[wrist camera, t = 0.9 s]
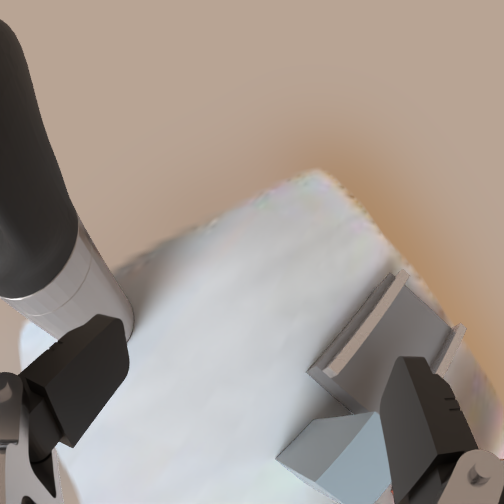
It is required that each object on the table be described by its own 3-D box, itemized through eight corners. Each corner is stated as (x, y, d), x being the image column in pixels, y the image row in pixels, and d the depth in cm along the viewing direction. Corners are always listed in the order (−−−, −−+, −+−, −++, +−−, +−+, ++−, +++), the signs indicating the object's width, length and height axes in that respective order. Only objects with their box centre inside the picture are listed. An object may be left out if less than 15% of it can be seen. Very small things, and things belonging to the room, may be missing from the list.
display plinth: (306, 372, 33) (322, 361, 28) (376, 286, 39) (397, 264, 34) (385, 439, 29) (413, 439, 24) (443, 347, 35) (470, 332, 30)
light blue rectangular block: (275, 459, 28) (314, 482, 15) (313, 419, 30) (375, 411, 17) (305, 483, 26) (362, 515, 13) (341, 443, 29) (417, 446, 16)
